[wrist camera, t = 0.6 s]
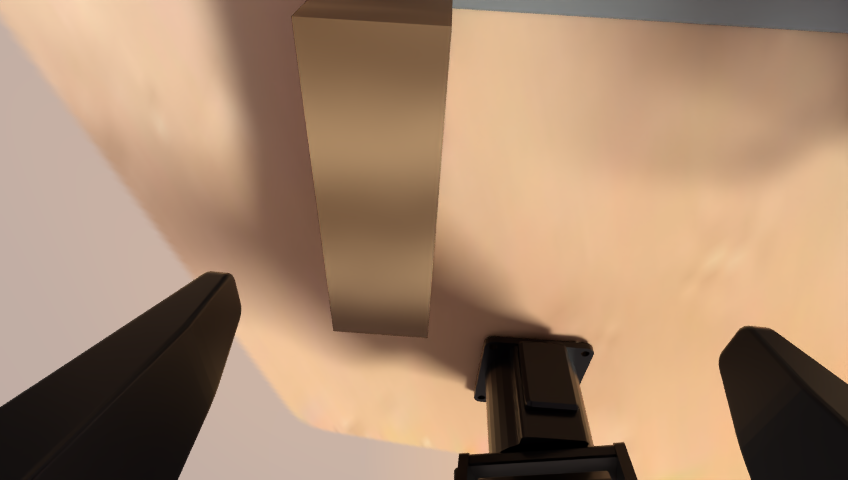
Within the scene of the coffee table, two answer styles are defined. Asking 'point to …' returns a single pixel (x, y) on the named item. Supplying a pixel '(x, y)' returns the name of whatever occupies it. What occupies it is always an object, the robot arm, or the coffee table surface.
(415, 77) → the walnut lintel
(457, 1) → the build mat
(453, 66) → the coffee table surface
